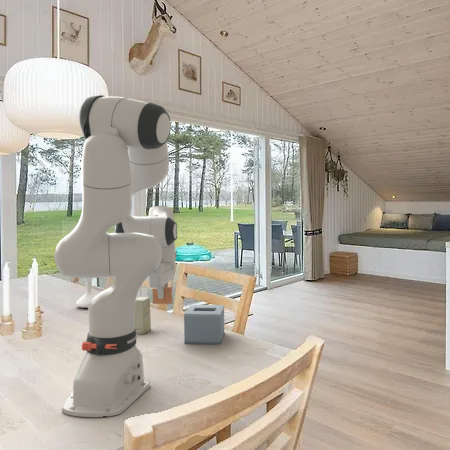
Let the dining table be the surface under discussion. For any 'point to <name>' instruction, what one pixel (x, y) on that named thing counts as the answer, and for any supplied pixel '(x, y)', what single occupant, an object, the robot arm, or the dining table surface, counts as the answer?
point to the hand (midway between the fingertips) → (162, 297)
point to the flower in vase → (86, 295)
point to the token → (166, 299)
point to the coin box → (204, 324)
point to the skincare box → (142, 315)
